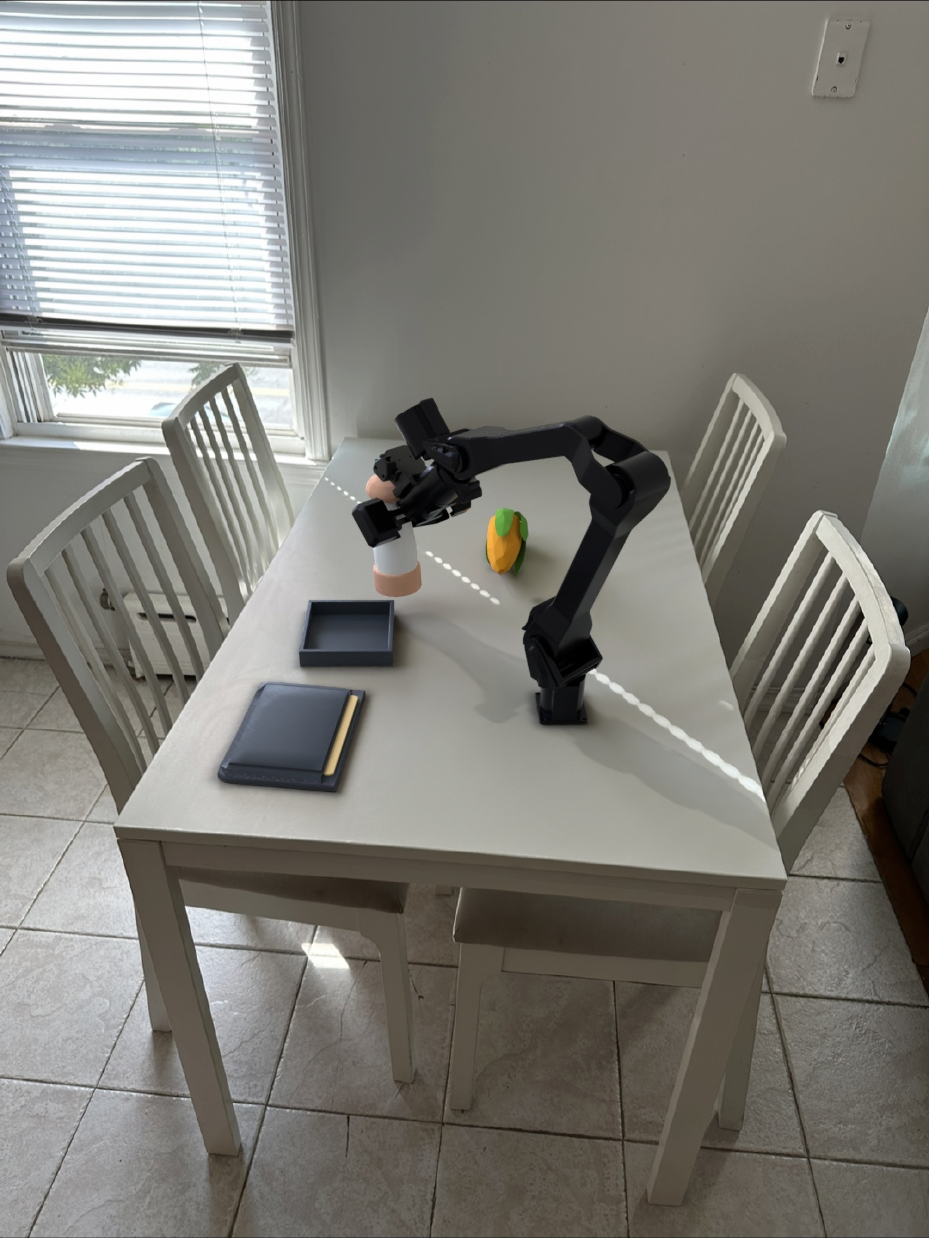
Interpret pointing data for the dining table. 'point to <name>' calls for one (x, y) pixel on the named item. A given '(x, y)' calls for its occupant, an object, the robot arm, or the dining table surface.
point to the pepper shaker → (394, 551)
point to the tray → (348, 633)
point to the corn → (506, 540)
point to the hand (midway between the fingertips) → (388, 531)
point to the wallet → (293, 737)
